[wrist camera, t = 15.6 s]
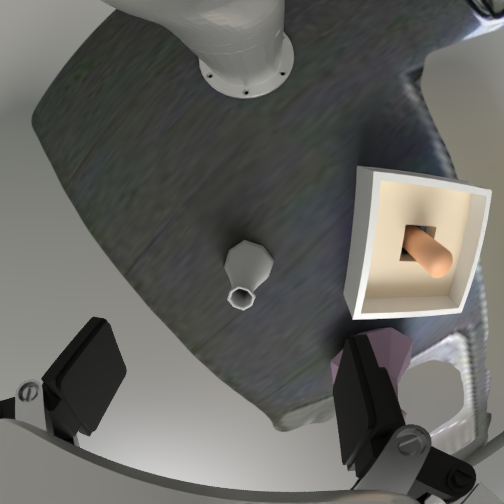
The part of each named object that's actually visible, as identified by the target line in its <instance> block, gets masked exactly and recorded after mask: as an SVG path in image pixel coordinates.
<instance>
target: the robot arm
mask: <svg viewBox="0 0 504 504" xmlns="http://www.w3.org/2000/svg"><path fill="white" fill-rule="evenodd" d="M101 1H103V2H105V3H106V4H108V5H110V6H112V7H114V8H116V9H118V10H121V11H123V12H125V13H128V14H131V15H134V16H137V17H140V18H143V19H146V20H149V21H152V22H155V23H158V24H160V25H162V26H164V27H166V28H167V29H169V30H170V31H171V32H173V33H174V34H175V35H176V36H177V37H178V38H179V39H180V40H181V41H182V42H183V43H184V44H185V45H186V46H188V47H189V48H190V49H191V50H192V51H193V52H194V53H195V54H196V55H197V56H198V57H199V67H200V70H201V73H202V75H203V77H204V78H205V80H206V81H207V82H208V83H209V84H210V85H211V86H212V87H213V88H214V89H215V90H217V91H219V92H220V93H222V94H224V95H227V96H230V97H234V98H240V99H250V98H257V97H260V96H263V95H267V94H268V93H270V92H272V91H274V90H276V89H277V88H278V87H279V86H281V85H282V84H283V83H284V81H285V80H286V79H287V78H288V76H289V74H290V72H291V70H292V67H293V62H294V50H293V47H292V43H291V41H290V40H289V38H288V36H287V35H286V34H285V33H284V32H283V30H284V10H285V0H101ZM283 39H284V40H283ZM281 73H284V74H285V75H283V76H282V75H281ZM211 75H212V78H209V77H210V76H211ZM245 92H248V94H247V95H245ZM125 375H126V366H125V364H124V361H123V359H122V356H121V353H120V351H119V348H118V345H117V343H116V340H115V337H114V334H113V331H112V328H111V325H110V324H109V323H108V322H107V320H106V319H104V318H98V317H92V318H91V319H90V320H89V322H87V324H86V325H85V326H84V327H83V328H82V329H81V330H80V332H79V333H78V334H77V335H76V336H75V337H74V339H73V340H72V341H71V342H70V344H69V345H68V346H67V347H66V348H65V350H64V351H63V352H62V353H61V354H60V355H59V357H58V358H57V360H55V362H54V363H53V364H52V365H51V367H50V368H49V369H48V371H47V372H46V373H45V374H44V376H43V377H42V378H41V379H42V381H43V382H44V383H43V384H42V385H41V383H40V382H39V381H37V380H34V379H31V380H27V381H24V382H23V383H22V384H20V385H19V387H18V388H17V390H16V395H15V397H13V398H9V399H6V400H2V401H0V504H504V503H503V502H502V501H501V500H500V499H499V498H498V497H497V496H496V495H495V494H494V493H493V492H492V491H491V490H489V489H488V488H487V487H486V486H485V485H484V484H483V483H482V482H480V483H479V484H478V483H477V482H476V473H475V470H474V469H473V467H472V466H471V465H470V464H468V463H466V462H464V461H462V460H459V459H457V458H455V457H453V456H451V455H449V454H447V453H444V452H442V451H440V450H438V449H436V448H434V447H432V446H431V437H430V435H429V433H428V432H427V431H426V430H425V429H424V428H422V427H421V426H418V425H414V424H410V425H409V424H408V425H406V424H405V421H404V417H403V414H402V411H401V408H400V405H399V402H398V399H397V396H396V393H395V390H394V388H393V385H392V382H391V379H390V376H389V374H388V371H387V369H386V368H385V367H379V365H378V362H377V360H376V357H375V354H374V351H373V349H372V346H371V343H370V341H369V338H368V336H367V335H366V334H361V335H351V337H350V339H346V341H345V344H344V348H343V352H342V356H341V360H340V364H339V368H338V371H337V375H336V378H335V382H334V386H333V396H334V403H335V410H336V417H337V424H338V432H339V439H340V448H341V456H342V463H343V465H347V468H348V471H353V470H355V471H356V476H357V477H358V480H357V481H356V482H355V483H354V485H353V486H352V487H351V488H350V490H338V491H318V492H317V491H316V492H265V491H248V490H237V489H228V488H220V487H213V486H206V485H200V484H194V483H189V482H184V481H180V480H175V479H171V478H166V477H162V476H158V475H155V474H151V473H148V472H144V471H141V470H137V469H134V468H131V467H128V466H125V465H122V464H119V463H116V462H114V461H111V460H108V459H106V458H103V457H101V456H98V455H95V454H93V453H91V452H88V451H86V450H84V449H82V448H80V446H79V443H78V439H77V435H76V433H77V432H78V431H79V432H80V433H82V434H85V435H87V436H90V435H91V433H92V432H93V431H95V430H96V429H97V427H98V425H99V423H100V421H101V419H102V417H103V415H104V413H105V412H106V410H107V408H108V406H109V404H110V402H111V401H112V399H113V397H114V395H115V393H116V391H117V389H118V388H119V386H120V384H121V383H122V381H123V379H124V377H125Z"/></svg>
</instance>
